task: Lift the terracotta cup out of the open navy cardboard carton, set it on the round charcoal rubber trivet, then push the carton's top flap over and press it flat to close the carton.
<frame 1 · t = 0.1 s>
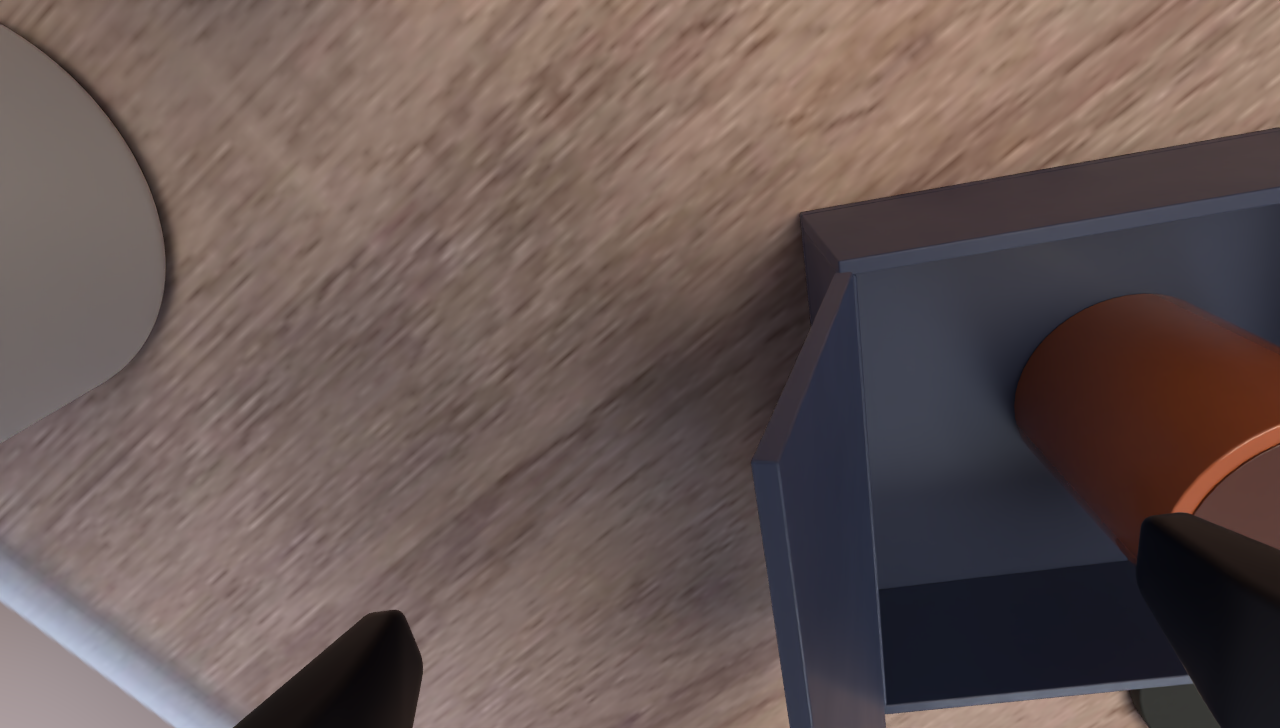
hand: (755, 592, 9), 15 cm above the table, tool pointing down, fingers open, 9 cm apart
carton: (1063, 391, 23), on the table
trivet: (1264, 657, 28), on the table
cup: (1118, 389, 23), resting on carton
flap: (844, 650, 16), point 10 cm above the table, hinge at 110.0°
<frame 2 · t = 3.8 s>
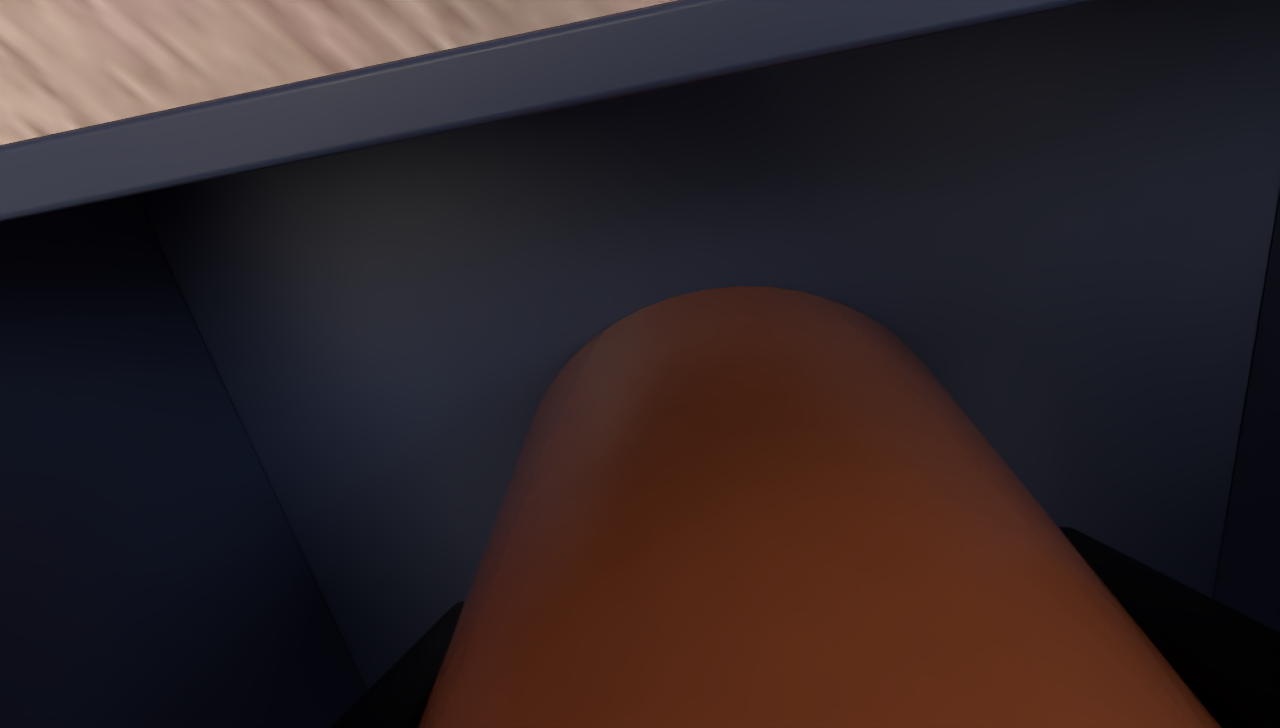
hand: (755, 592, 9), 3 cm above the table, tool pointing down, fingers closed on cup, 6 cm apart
carton: (748, 555, 12), on the table
cup: (737, 492, 11), resting on carton, touching gripper
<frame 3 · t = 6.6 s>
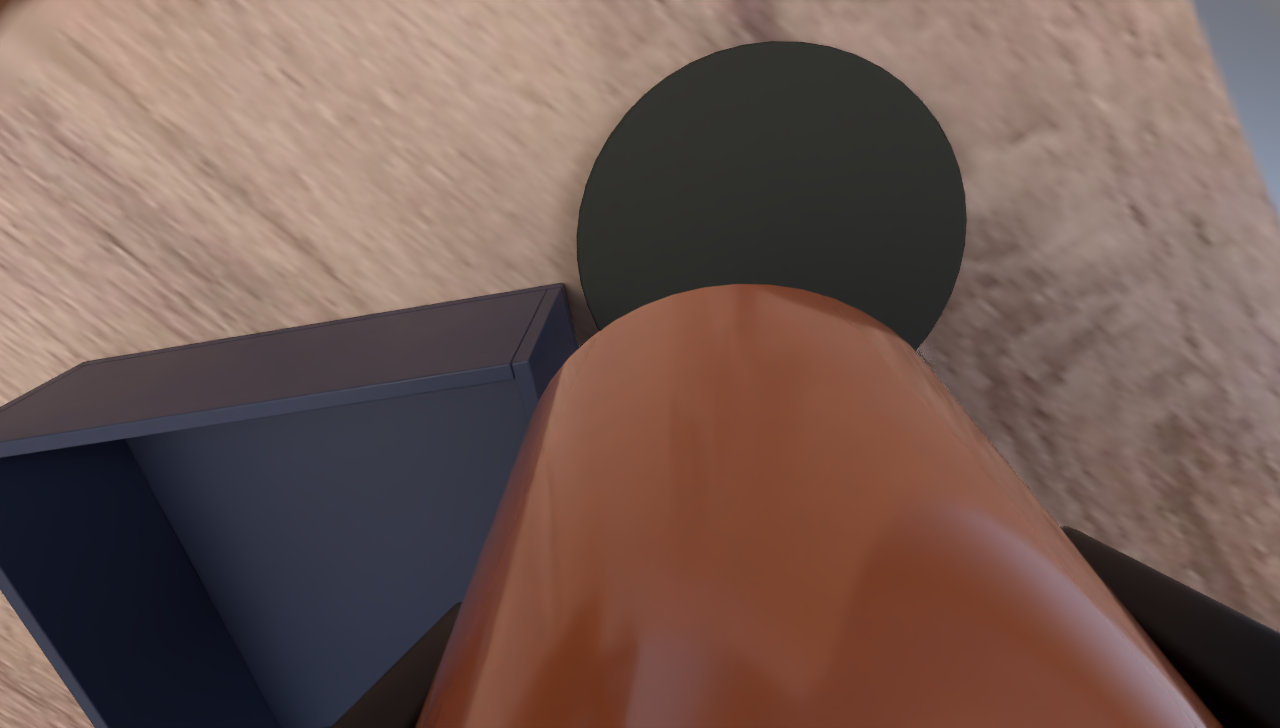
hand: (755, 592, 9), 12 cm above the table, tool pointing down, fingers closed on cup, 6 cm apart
carton: (399, 543, 24), on the table
trivet: (764, 245, 19), on the table
cup: (737, 491, 11), point 10 cm above the table, touching gripper
when the fingers open (3 cm above the table, at t = 9.3 s): cup stays where it is, resting on trivet.
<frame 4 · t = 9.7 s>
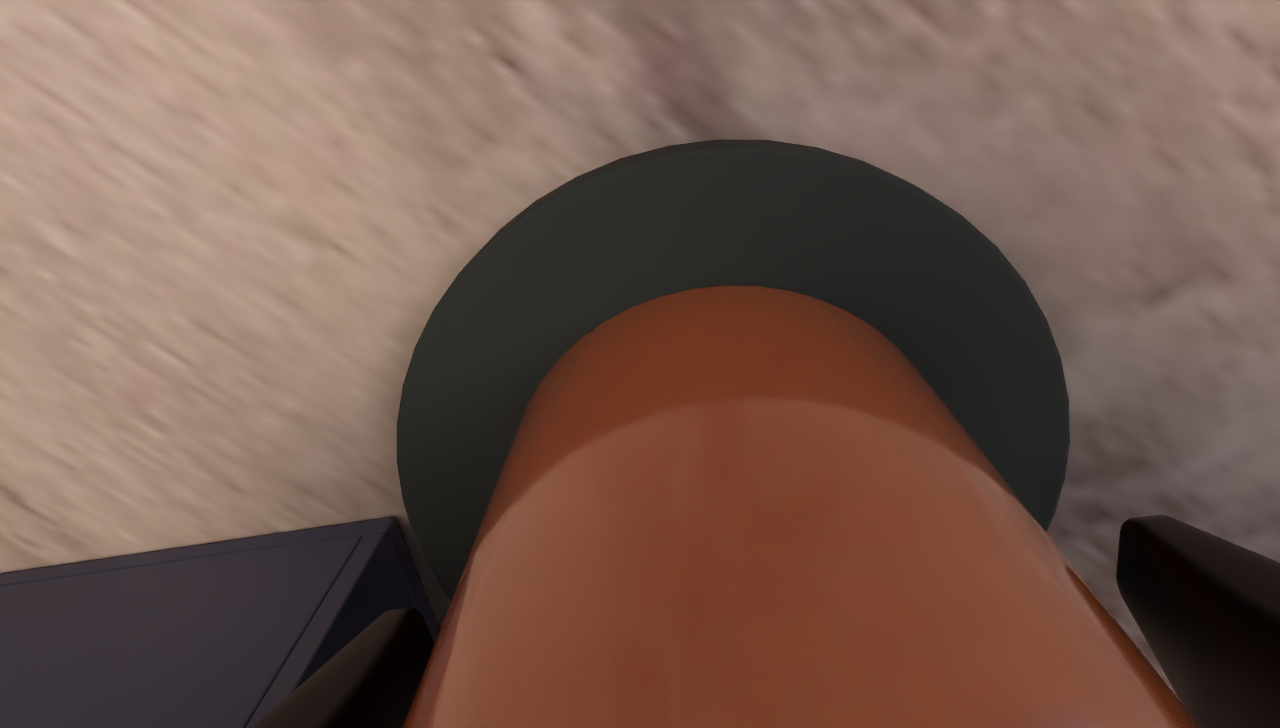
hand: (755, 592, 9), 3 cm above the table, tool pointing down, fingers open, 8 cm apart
trivet: (722, 462, 11), on the table
cup: (726, 490, 11), point 1 cm above the table, touching trivet
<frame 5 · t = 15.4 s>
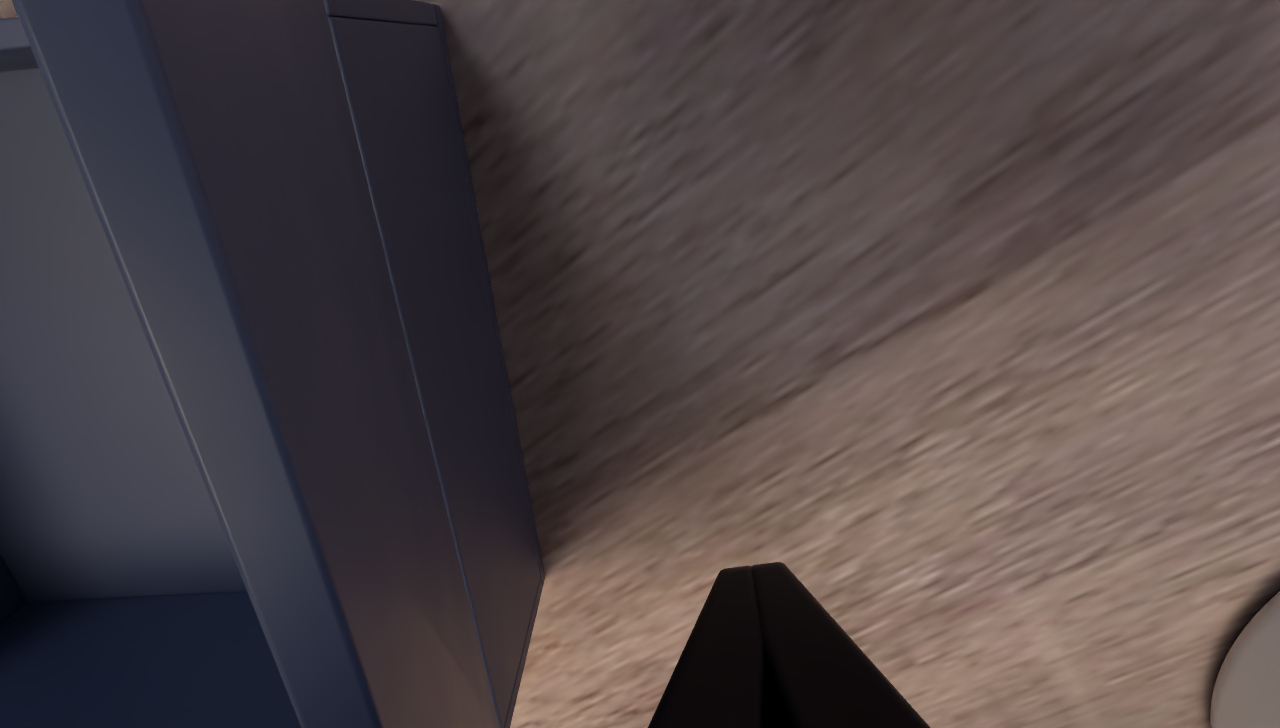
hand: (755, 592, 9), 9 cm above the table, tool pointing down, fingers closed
carton: (196, 362, 18), on the table
flap: (431, 636, 9), point 10 cm above the table, hinge at 108.8°, touching gripper
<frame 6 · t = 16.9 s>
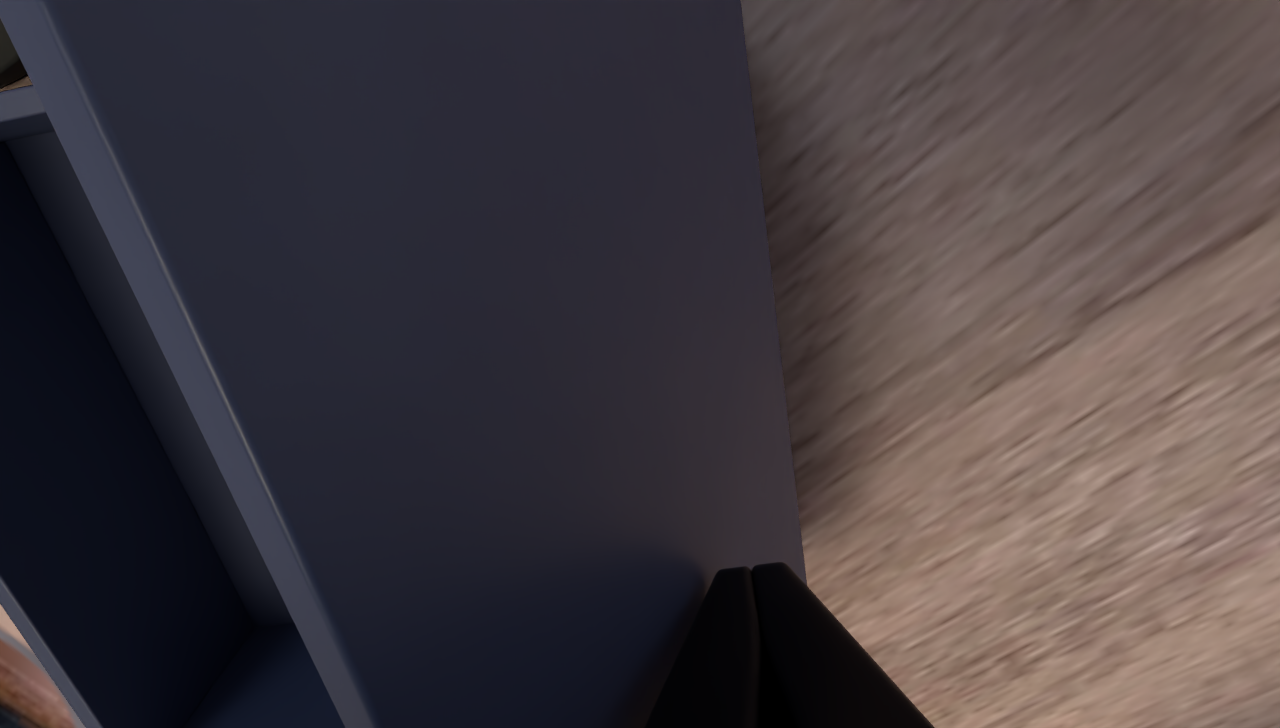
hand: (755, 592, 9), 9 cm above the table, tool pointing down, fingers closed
carton: (431, 370, 18), on the table
flap: (684, 622, 8), point 10 cm above the table, hinge at 64.7°, touching gripper
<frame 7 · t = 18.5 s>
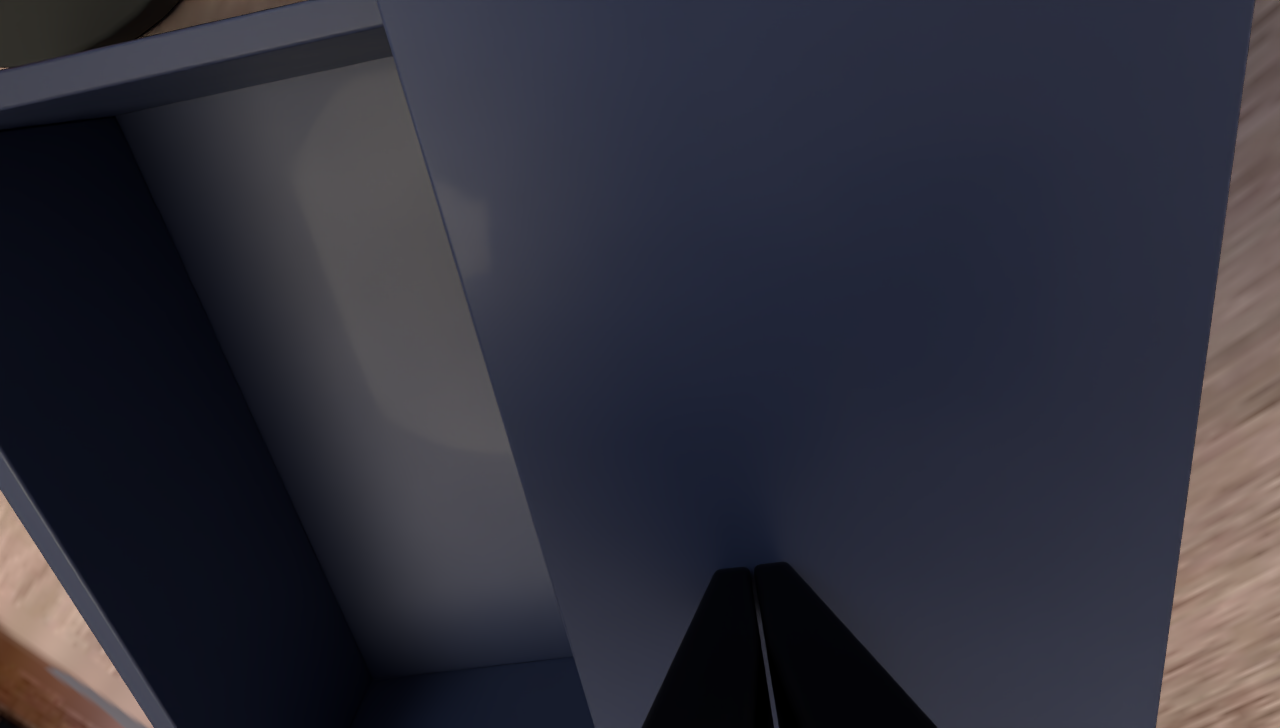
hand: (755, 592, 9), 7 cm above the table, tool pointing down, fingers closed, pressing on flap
carton: (602, 386, 15), on the table
flap: (867, 559, 9), point 6 cm above the table, hinge at 5.6°, touching gripper
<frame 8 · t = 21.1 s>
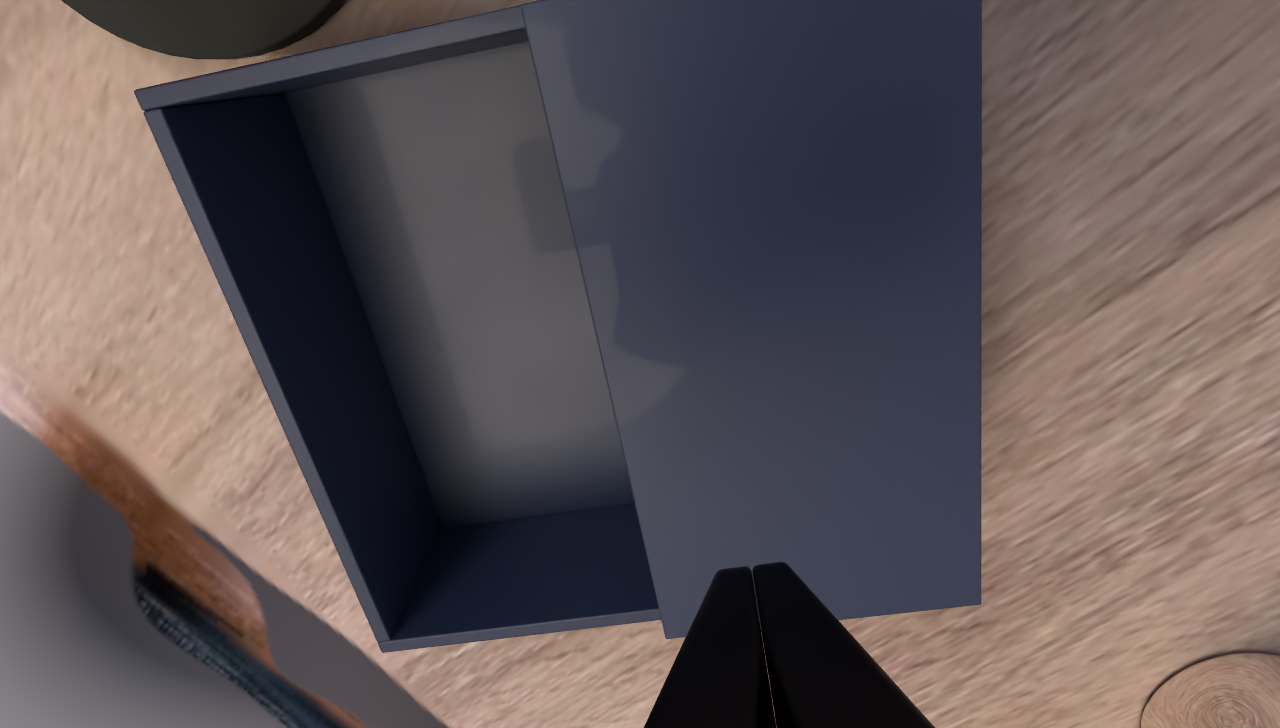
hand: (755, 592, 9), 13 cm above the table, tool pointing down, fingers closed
beer glass: (1221, 707, 27), on the table
carton: (620, 292, 21), on the table
flap: (787, 350, 15), point 6 cm above the table, hinge at -0.4°
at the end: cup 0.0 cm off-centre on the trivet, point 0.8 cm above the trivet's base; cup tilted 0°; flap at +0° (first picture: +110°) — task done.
